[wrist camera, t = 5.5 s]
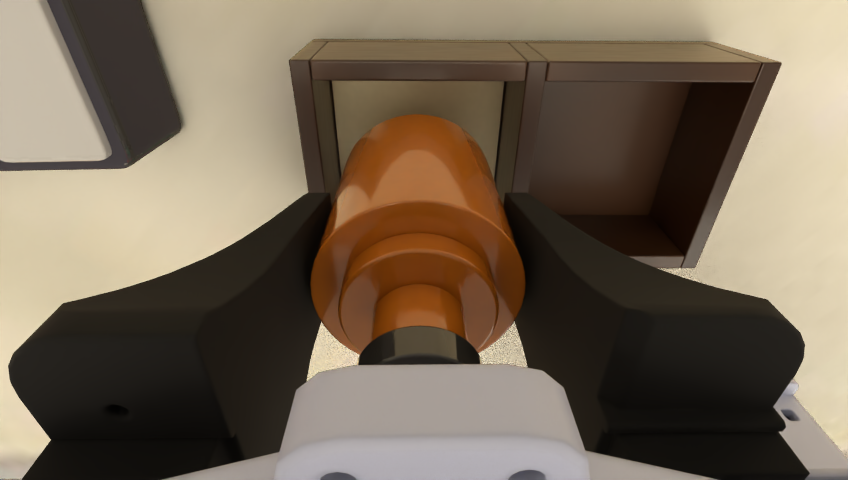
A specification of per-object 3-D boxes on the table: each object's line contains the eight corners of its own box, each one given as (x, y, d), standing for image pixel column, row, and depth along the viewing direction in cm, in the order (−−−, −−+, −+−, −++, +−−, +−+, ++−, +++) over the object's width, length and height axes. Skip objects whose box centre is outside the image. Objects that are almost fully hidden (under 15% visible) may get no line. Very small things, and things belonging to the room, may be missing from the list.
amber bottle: (497, 113, 13) (589, 292, 6) (484, 246, 16) (538, 477, 9) (336, 113, 13) (248, 294, 6) (349, 247, 16) (298, 480, 9)
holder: (712, 41, 16) (783, 62, 13) (652, 220, 20) (695, 268, 17) (313, 38, 16) (288, 59, 13) (334, 220, 20) (319, 269, 17)
